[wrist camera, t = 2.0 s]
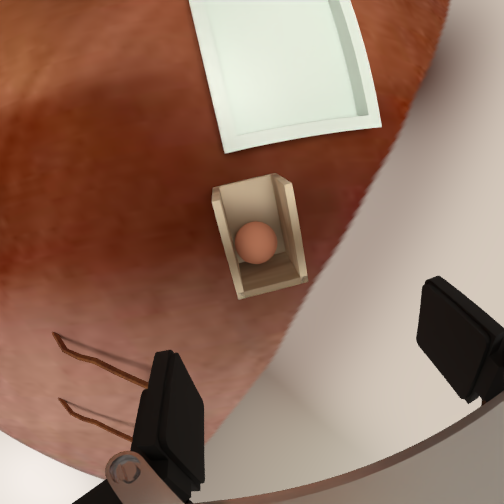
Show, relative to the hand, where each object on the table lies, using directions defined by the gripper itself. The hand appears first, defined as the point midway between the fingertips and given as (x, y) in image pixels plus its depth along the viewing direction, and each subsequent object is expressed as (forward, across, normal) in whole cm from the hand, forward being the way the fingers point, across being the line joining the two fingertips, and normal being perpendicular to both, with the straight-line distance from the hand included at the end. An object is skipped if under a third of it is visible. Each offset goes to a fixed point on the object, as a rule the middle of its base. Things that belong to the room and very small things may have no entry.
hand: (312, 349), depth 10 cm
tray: (+15, -5, -15) cm, 22 cm away
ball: (+15, 0, +1) cm, 15 cm away
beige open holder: (+15, 0, 0) cm, 15 cm away
